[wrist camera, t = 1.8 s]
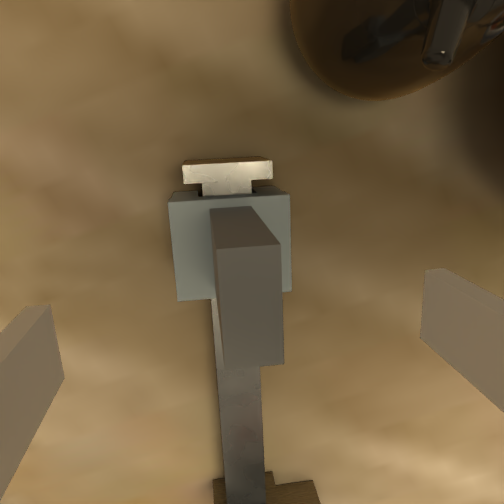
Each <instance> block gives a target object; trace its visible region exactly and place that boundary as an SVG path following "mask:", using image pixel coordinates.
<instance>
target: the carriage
mask: <svg viewBox="0 0 504 504" xmlns="http://www.w3.org/2000/svg"><path fill="white" fill-rule="evenodd" d="M168 211H169V221H170V230H171V240H172V250H173V260H174V270H175V280H176V289H177V299H178V302H179V301H190V300H202V299H213V298H216V299H217V308H218V316H219V325H220V333H221V341H222V350H223V358H224V366H225V370H234V369H243V368H252V367H261V366H270V365H279V364H284V335H283V300H282V292H290V291H292V272H291V225H290V194H288V193H286V192H285V191H282V190H280V189H278V188H277V187H275V186H264V187H252V193H251V194H236V195H220V196H204V197H198V191H183V192H174V193H173V195H172V198H171V199H169V201H168Z"/></svg>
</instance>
